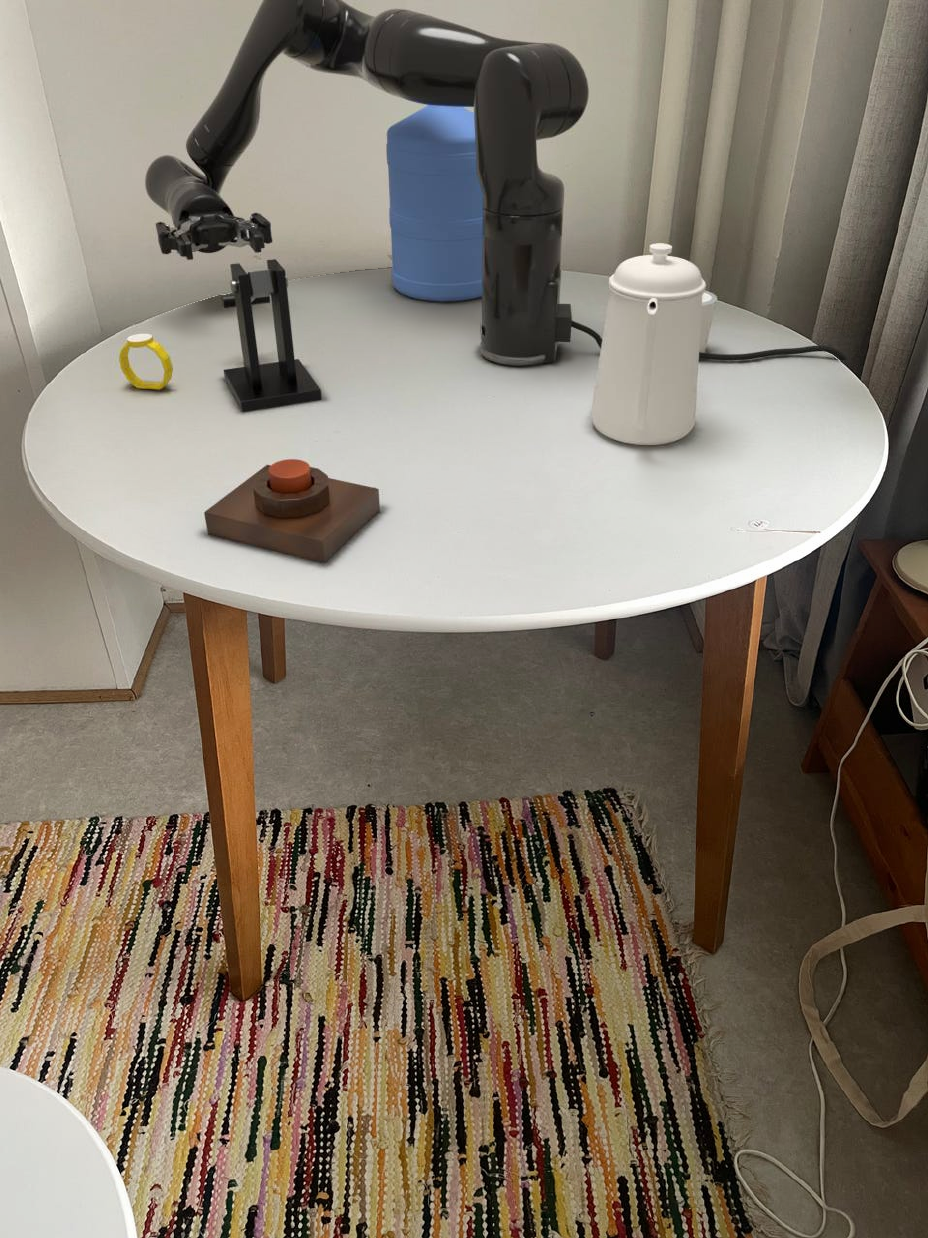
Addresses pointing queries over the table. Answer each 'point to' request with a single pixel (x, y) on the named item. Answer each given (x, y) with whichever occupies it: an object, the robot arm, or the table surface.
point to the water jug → (435, 205)
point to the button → (290, 476)
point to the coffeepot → (650, 350)
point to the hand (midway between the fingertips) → (224, 247)
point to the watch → (148, 341)
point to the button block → (294, 515)
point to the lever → (254, 289)
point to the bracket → (288, 375)
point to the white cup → (706, 318)
